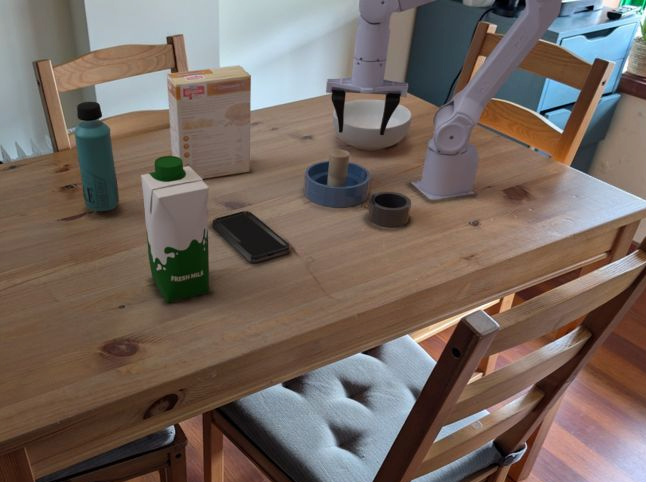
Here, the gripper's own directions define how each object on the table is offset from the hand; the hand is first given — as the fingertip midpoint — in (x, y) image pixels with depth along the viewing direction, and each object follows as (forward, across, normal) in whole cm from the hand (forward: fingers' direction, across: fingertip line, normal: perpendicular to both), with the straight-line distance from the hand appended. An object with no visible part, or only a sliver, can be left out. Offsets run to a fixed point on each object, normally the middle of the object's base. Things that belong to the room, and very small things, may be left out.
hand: (361, 132), depth 130 cm
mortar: (+10, +6, -15) cm, 19 cm away
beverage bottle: (+11, -46, -20) cm, 51 cm away
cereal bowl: (+11, +2, +20) cm, 23 cm away
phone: (+10, -17, -26) cm, 33 cm away
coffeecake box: (+11, -30, +1) cm, 31 cm away
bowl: (+10, -4, -6) cm, 13 cm away
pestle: (+10, -4, -6) cm, 12 cm away
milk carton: (+11, -26, -42) cm, 50 cm away
